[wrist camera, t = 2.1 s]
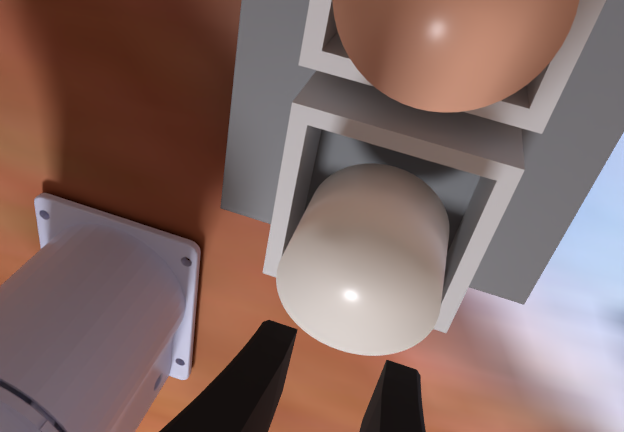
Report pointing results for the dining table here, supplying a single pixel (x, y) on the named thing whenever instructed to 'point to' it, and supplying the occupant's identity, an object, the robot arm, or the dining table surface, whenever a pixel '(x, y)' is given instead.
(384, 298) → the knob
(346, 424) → the dining table surface
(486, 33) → the knob middle
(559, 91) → the panel
